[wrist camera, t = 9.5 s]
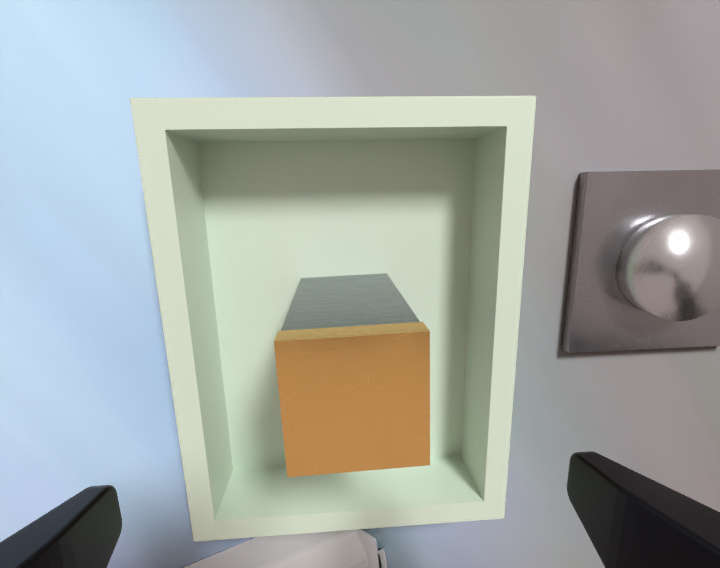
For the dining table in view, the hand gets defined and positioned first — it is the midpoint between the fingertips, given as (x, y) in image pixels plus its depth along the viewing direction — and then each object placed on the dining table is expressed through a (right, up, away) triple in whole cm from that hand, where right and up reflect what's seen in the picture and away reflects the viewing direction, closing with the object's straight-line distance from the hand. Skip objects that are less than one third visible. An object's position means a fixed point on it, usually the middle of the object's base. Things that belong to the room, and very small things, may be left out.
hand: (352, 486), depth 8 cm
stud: (+15, +5, +12) cm, 20 cm away
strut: (-1, +2, +11) cm, 11 cm away
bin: (-1, +3, +12) cm, 12 cm away
